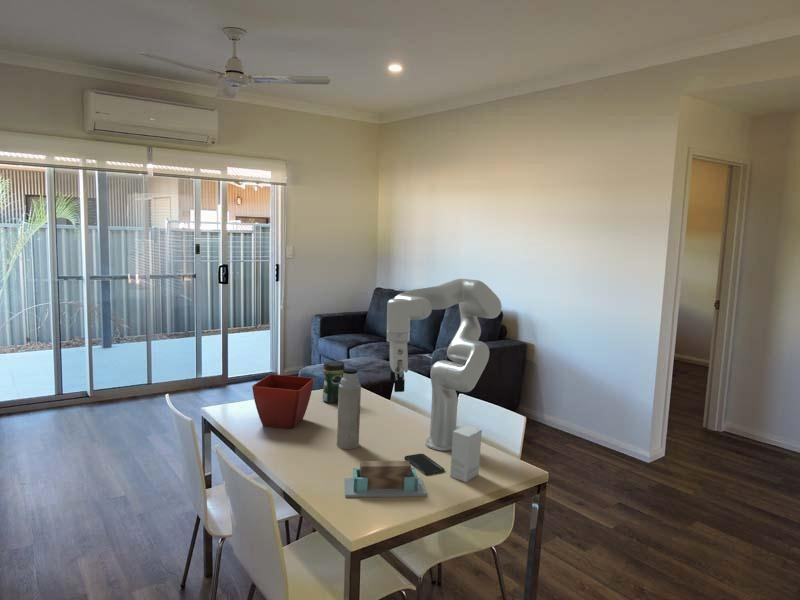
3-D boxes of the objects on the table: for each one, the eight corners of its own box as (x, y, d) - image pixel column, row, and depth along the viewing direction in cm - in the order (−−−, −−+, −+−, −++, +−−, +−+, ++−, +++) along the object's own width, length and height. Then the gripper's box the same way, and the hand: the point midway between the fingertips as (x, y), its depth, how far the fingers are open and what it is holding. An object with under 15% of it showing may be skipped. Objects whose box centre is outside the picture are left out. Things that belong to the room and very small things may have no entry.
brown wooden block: (408, 482, 172) (409, 460, 171) (409, 488, 168) (410, 466, 167) (359, 483, 170) (360, 461, 169) (360, 489, 166) (361, 466, 166)
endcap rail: (420, 479, 176) (421, 465, 176) (426, 496, 165) (427, 480, 165) (344, 480, 173) (344, 466, 173) (345, 497, 162) (345, 481, 162)
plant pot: (297, 433, 212) (299, 390, 210) (250, 428, 215) (251, 385, 213) (313, 417, 231) (314, 377, 229) (269, 413, 234) (270, 374, 232)
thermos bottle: (361, 442, 206) (364, 368, 202) (355, 450, 198) (358, 373, 195) (340, 440, 207) (343, 366, 204) (333, 447, 199) (336, 371, 196)
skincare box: (463, 469, 186) (466, 424, 184) (480, 475, 182) (483, 429, 180) (449, 477, 179) (451, 430, 178) (466, 483, 175) (469, 435, 174)
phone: (422, 453, 196) (445, 469, 183) (422, 456, 196) (445, 473, 183) (403, 456, 193) (425, 473, 179) (402, 459, 193) (424, 476, 180)
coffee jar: (339, 397, 261) (340, 358, 259) (346, 402, 254) (347, 362, 252) (319, 399, 256) (321, 359, 254) (326, 404, 249) (327, 363, 247)
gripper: (414, 342, 174) (412, 394, 177) (405, 331, 191) (404, 379, 194) (390, 342, 173) (389, 395, 176) (383, 331, 190) (382, 379, 192)
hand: (397, 387), depth 185 cm, fingers open, 9 cm apart
